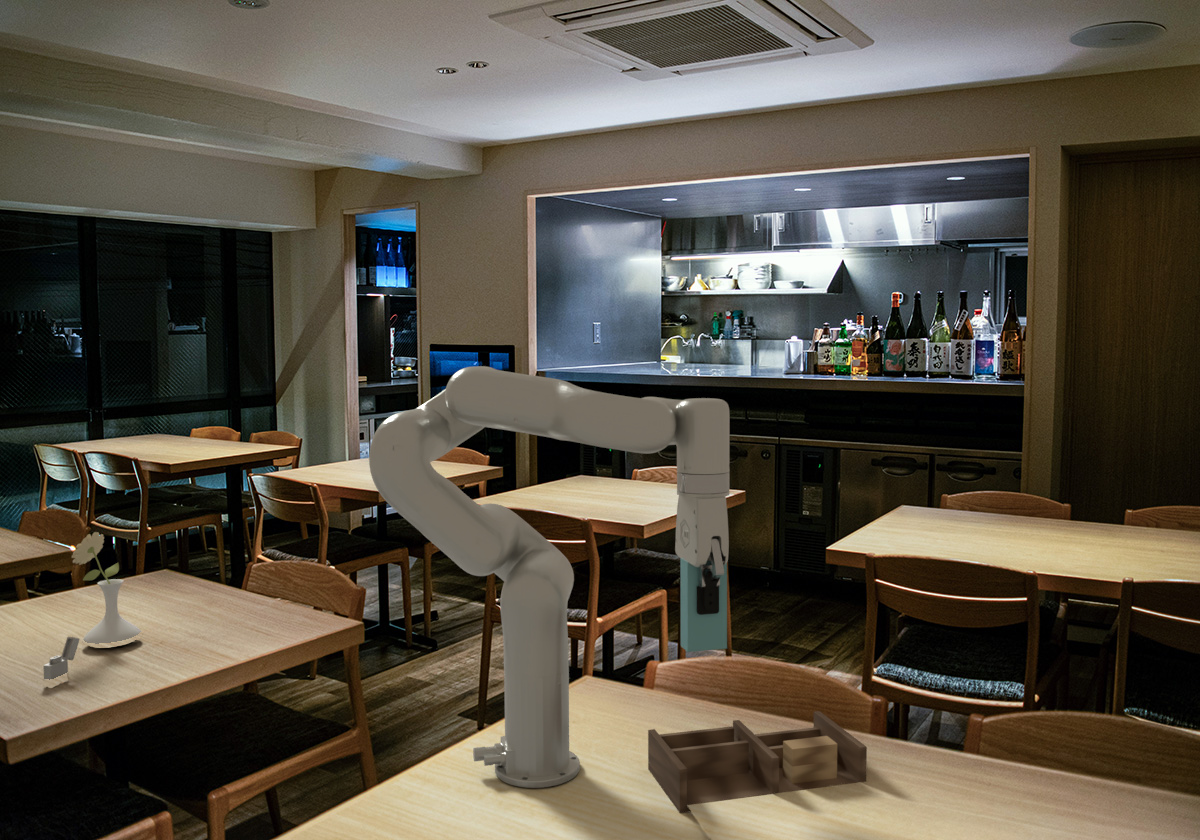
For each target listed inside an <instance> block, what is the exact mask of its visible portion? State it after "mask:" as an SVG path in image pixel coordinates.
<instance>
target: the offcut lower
mask: <svg viewBox="0 0 1200 840" xmlns="http://www.w3.org/2000/svg"><path fill="white" fill-rule="evenodd" d="M783 775H784V776H785V777H786V778H787V779H788V780H789V781H790V782H791V783H792V784H794V783H802V782H810V781H817V780H825V779H833V778H837V761H833V762H825V763H817V764H809V765H801V766H793V767H792V766H791V765H790V764H789V763H788V762H787V761H786V760H785V759H784V758H783Z"/></svg>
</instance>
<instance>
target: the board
mask: <svg viewBox="0 0 1200 840" xmlns="http://www.w3.org/2000/svg"><path fill="white" fill-rule="evenodd" d="M679 558H680V557H679ZM706 564H711V561H707V562H706ZM723 567H724V575H722V576H721V577H720V586H719V612H718V613H717V614H705V615H699V614H698V613H697V586H699V567H694V566H692V565H691V564H690V563H688V562H687V561H685V560H684V559H682V558H680V574H679V575H680V647H681V648H682V649H684V650H685V652H686V653H694V652H704V651H713V650H716V651H717V650H725V649H726V650H727V649H728V562H727V563H726V564H725V565H724V566H723ZM710 570H711V569H708V570H705V575H706V573H707V571H710Z"/></svg>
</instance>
